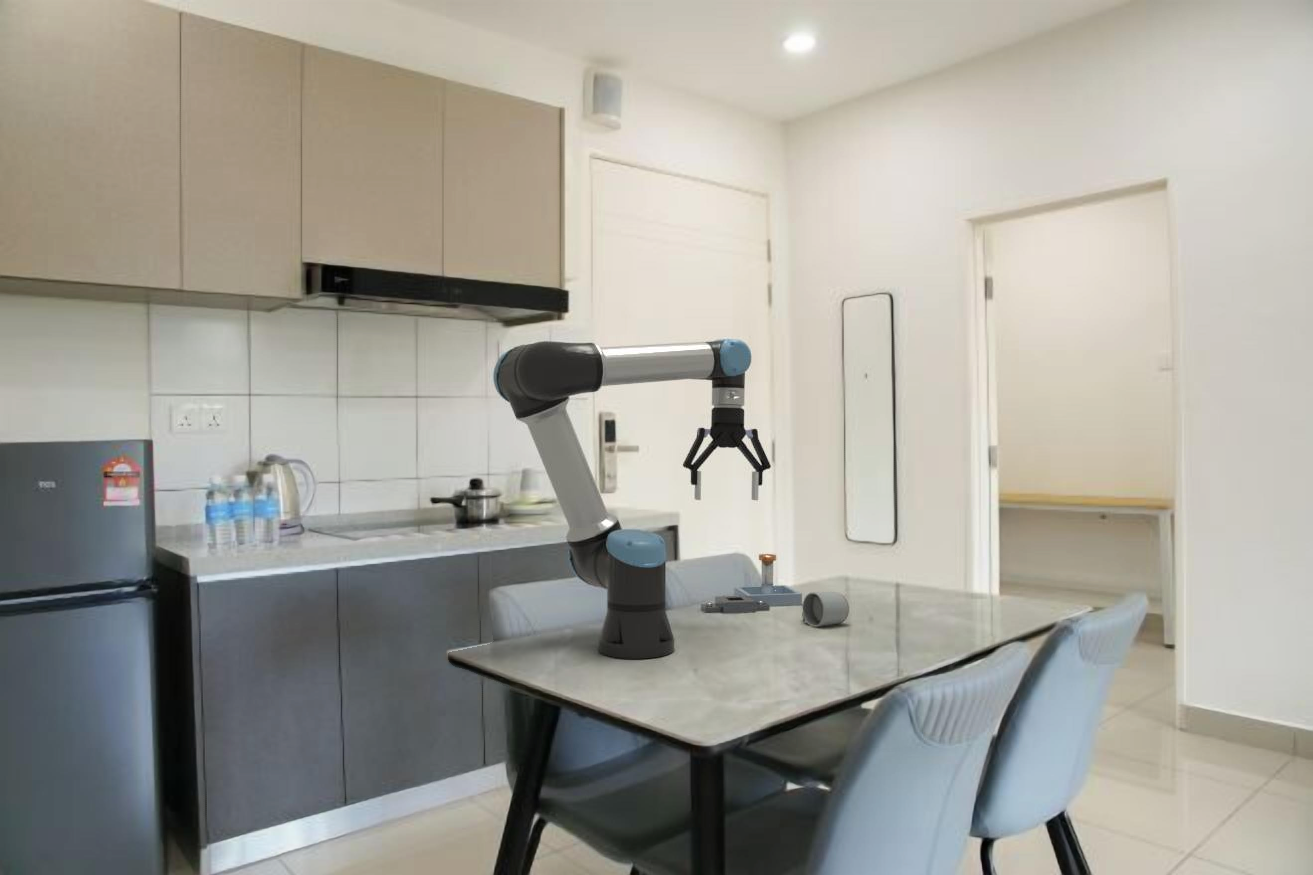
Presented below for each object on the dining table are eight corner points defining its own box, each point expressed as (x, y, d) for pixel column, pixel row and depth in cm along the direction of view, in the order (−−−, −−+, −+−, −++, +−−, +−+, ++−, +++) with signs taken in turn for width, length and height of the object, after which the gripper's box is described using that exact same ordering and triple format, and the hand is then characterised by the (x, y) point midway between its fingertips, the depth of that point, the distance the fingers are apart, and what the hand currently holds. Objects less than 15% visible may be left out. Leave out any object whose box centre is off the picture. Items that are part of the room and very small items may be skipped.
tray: (748, 606, 224) (748, 595, 224) (734, 597, 237) (734, 586, 237) (802, 604, 227) (801, 593, 227) (785, 595, 240) (785, 585, 240)
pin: (761, 600, 229) (761, 556, 229) (756, 597, 234) (756, 554, 234) (778, 600, 230) (778, 556, 230) (772, 596, 235) (773, 553, 235)
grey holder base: (706, 613, 216) (706, 603, 216) (699, 607, 224) (699, 597, 224) (771, 611, 219) (771, 600, 219) (761, 605, 227) (761, 594, 227)
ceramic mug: (851, 625, 203) (851, 591, 203) (823, 629, 199) (823, 594, 199) (820, 618, 212) (819, 585, 212) (792, 622, 208) (792, 588, 208)
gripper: (678, 405, 202) (676, 500, 202) (785, 408, 207) (783, 501, 206) (671, 406, 209) (669, 498, 209) (774, 409, 214) (773, 498, 214)
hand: (726, 499), depth 208 cm, fingers open, 13 cm apart
